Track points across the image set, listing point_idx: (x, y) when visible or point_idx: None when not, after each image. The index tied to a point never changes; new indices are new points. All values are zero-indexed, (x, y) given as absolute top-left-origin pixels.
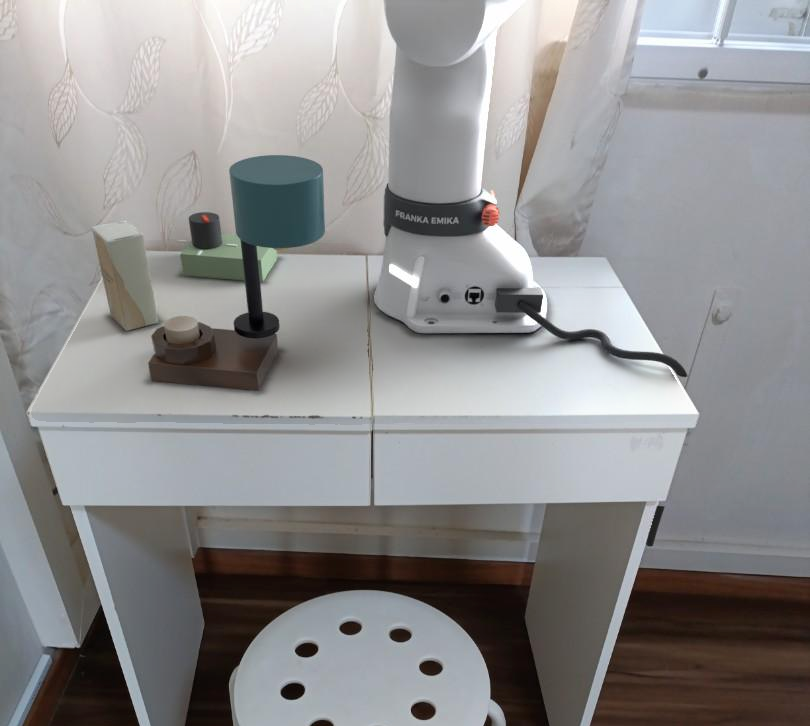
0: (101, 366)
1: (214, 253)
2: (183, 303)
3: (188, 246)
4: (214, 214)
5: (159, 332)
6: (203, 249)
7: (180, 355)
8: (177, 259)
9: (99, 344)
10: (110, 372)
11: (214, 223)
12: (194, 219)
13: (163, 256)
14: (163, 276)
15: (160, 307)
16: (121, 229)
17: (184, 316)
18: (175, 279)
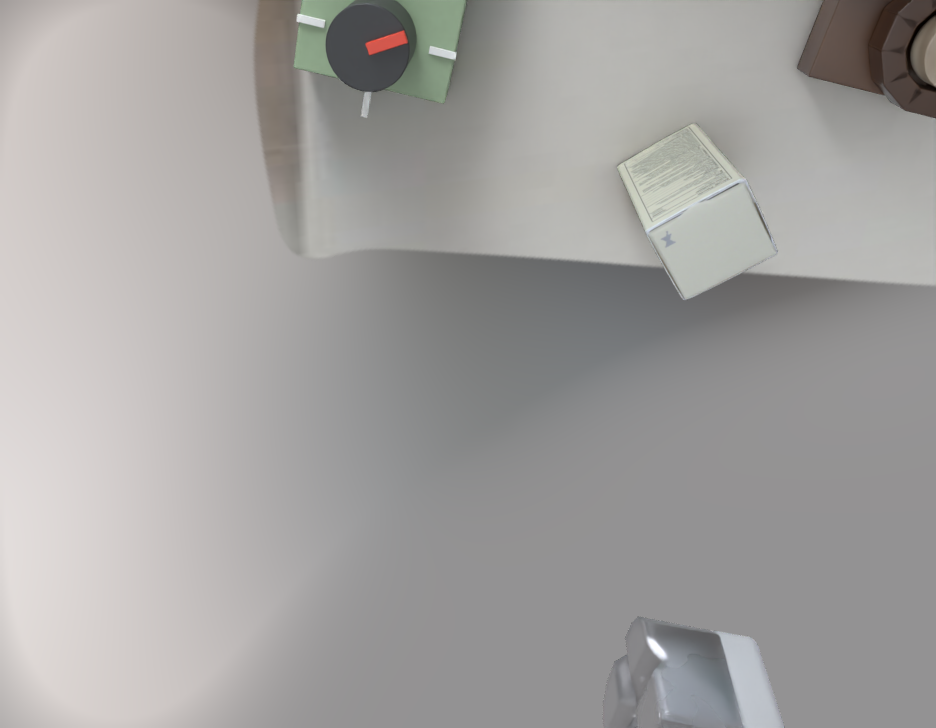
0: (864, 210)
1: (443, 11)
2: (601, 76)
3: (397, 86)
4: (342, 19)
5: (925, 102)
6: (416, 44)
7: None
8: (349, 116)
9: (770, 227)
10: (893, 190)
11: (395, 15)
12: (383, 74)
13: (332, 152)
14: (449, 139)
15: (616, 127)
16: (714, 232)
17: (930, 48)
18: (467, 109)
